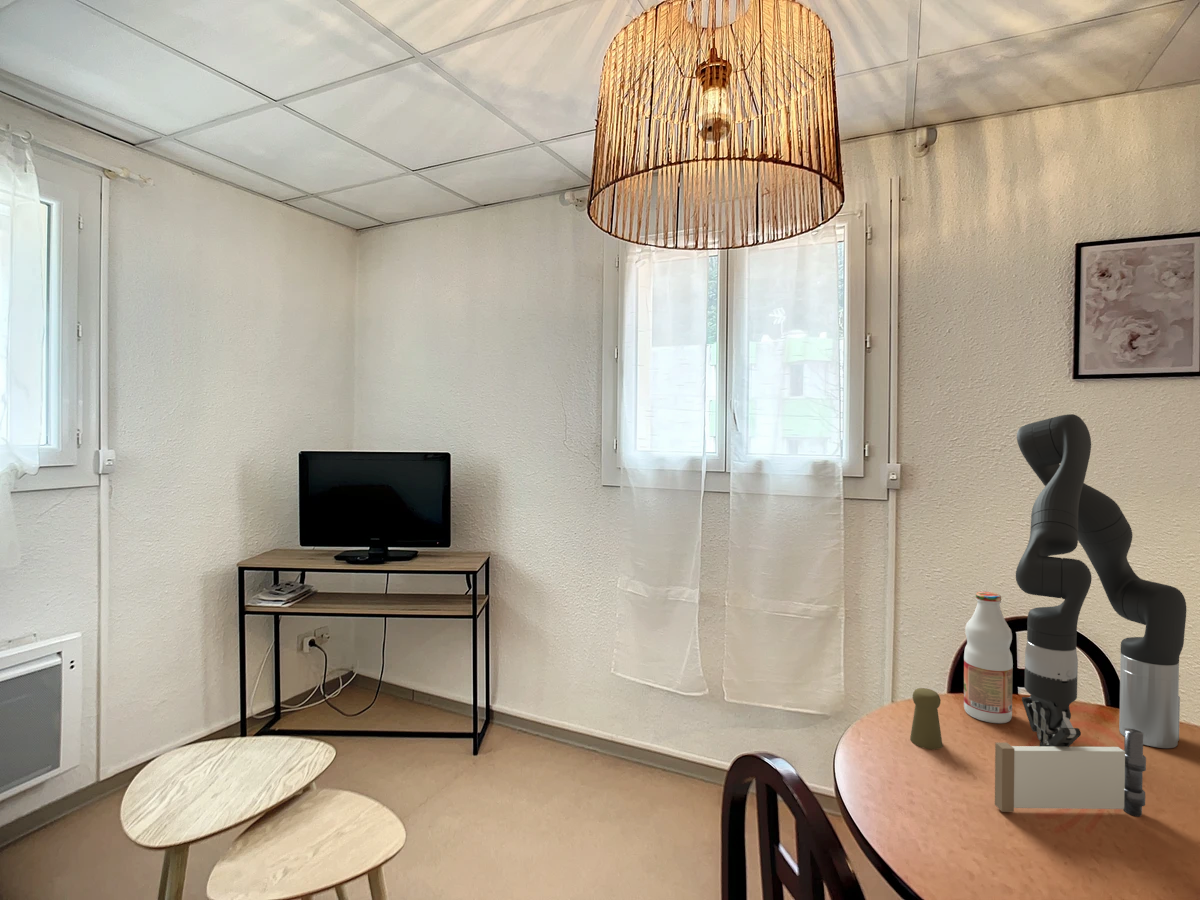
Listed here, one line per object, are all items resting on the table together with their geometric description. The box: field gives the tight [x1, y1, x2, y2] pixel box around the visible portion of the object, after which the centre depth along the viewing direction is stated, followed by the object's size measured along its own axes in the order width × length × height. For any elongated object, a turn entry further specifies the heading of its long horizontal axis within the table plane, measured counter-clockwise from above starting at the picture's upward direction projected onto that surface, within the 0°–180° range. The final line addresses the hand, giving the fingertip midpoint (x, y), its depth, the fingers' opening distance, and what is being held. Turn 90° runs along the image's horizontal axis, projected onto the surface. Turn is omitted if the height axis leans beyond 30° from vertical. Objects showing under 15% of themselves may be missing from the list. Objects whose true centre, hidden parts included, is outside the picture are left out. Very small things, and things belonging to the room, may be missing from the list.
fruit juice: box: [963, 591, 1014, 724], centre depth 141 cm, size 9×9×28 cm
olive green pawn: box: [909, 687, 943, 750], centre depth 130 cm, size 6×6×11 cm
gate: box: [994, 742, 1125, 813], centre depth 106 cm, size 20×2×11 cm, turn 88°
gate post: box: [1122, 729, 1147, 818], centre depth 105 cm, size 3×3×14 cm
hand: (1048, 762), depth 110 cm, fingers closed
